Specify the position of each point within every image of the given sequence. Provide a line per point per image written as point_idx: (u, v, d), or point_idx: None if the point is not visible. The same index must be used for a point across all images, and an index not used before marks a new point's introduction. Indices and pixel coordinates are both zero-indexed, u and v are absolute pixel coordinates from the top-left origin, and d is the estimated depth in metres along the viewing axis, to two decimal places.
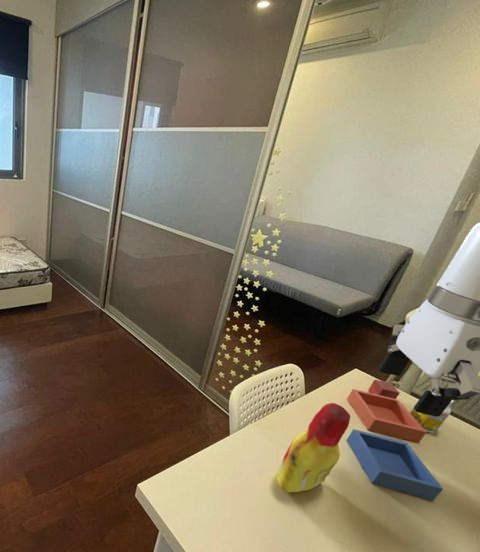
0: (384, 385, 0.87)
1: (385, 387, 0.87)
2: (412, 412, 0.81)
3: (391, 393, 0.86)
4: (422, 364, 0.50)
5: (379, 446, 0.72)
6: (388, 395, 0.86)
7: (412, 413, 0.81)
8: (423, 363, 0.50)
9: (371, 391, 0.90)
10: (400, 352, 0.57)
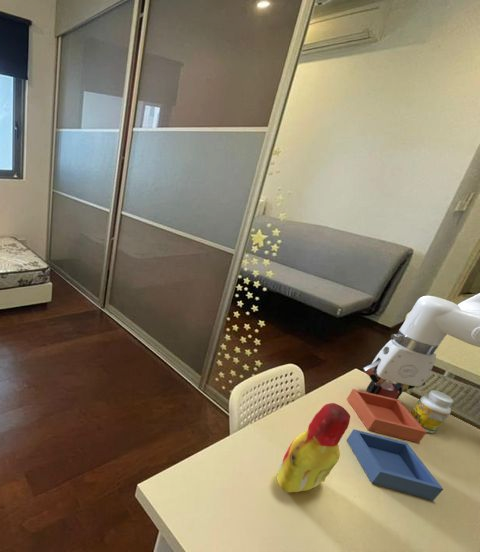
0: (384, 385, 0.87)
1: (385, 387, 0.87)
2: (412, 412, 0.81)
3: (391, 393, 0.86)
4: None
5: (379, 446, 0.72)
6: (388, 395, 0.86)
7: (412, 413, 0.81)
8: None
9: None
10: (398, 385, 0.87)
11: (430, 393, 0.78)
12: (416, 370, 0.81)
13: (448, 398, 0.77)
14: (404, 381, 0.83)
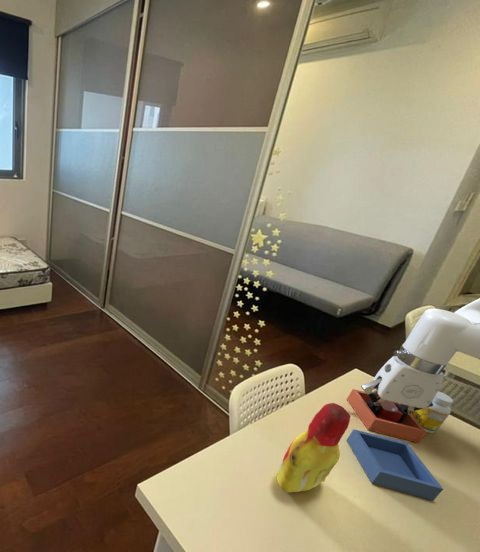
0: (385, 405, 0.79)
1: (386, 408, 0.78)
2: None
3: (393, 414, 0.78)
4: None
5: (379, 446, 0.72)
6: (390, 416, 0.78)
7: (412, 413, 0.81)
8: None
9: None
10: (403, 406, 0.79)
11: None
12: (421, 390, 0.73)
13: (448, 398, 0.77)
14: (408, 402, 0.75)
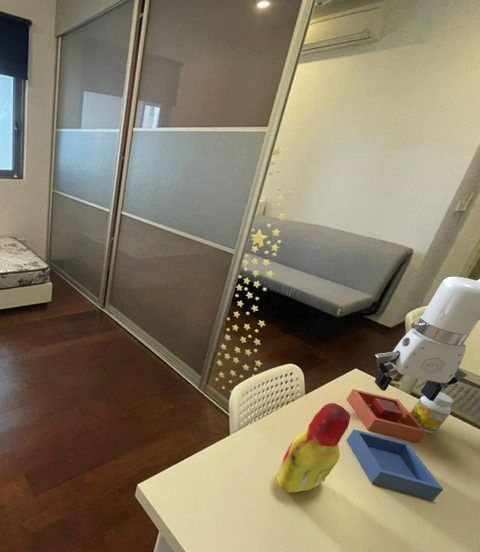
0: (385, 405, 0.79)
1: (386, 408, 0.78)
2: (412, 412, 0.81)
3: (393, 414, 0.78)
4: None
5: (379, 446, 0.72)
6: (390, 416, 0.78)
7: (412, 413, 0.81)
8: None
9: None
10: None
11: None
12: (442, 363, 0.70)
13: (448, 398, 0.77)
14: (429, 377, 0.72)
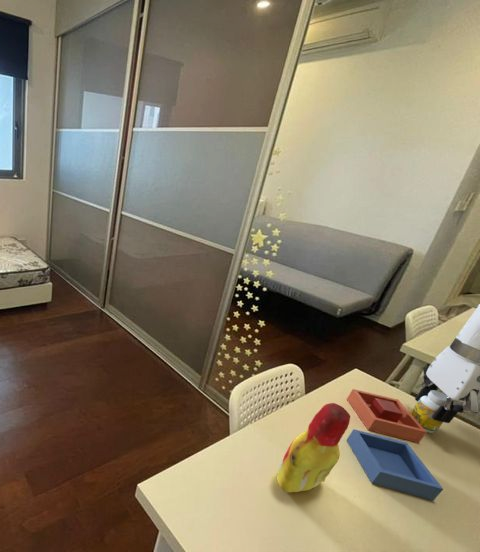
0: (385, 405, 0.79)
1: (386, 408, 0.78)
2: (412, 412, 0.81)
3: (393, 414, 0.78)
4: (446, 390, 0.74)
5: (379, 446, 0.72)
6: (390, 416, 0.78)
7: (412, 413, 0.81)
8: (447, 390, 0.74)
9: None
10: (431, 387, 0.80)
11: (430, 393, 0.78)
12: None
13: None
14: None
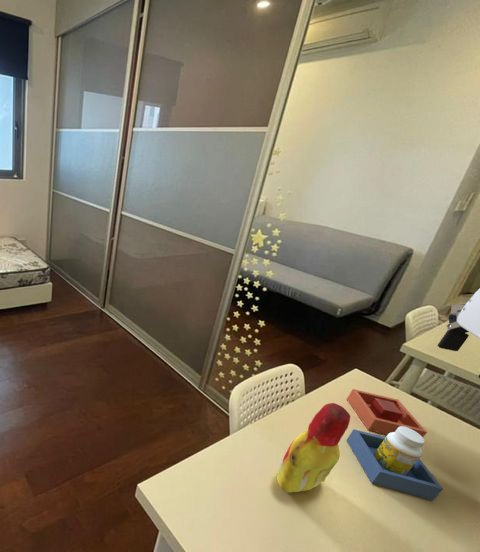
0: (385, 405, 0.79)
1: (386, 408, 0.78)
2: (378, 451, 0.68)
3: (393, 414, 0.78)
4: None
5: None
6: (390, 416, 0.78)
7: (377, 452, 0.68)
8: None
9: None
10: (459, 329, 0.63)
11: (398, 430, 0.65)
12: None
13: (419, 437, 0.64)
14: None
